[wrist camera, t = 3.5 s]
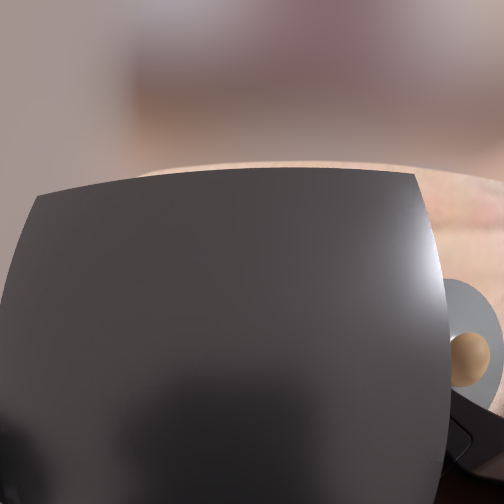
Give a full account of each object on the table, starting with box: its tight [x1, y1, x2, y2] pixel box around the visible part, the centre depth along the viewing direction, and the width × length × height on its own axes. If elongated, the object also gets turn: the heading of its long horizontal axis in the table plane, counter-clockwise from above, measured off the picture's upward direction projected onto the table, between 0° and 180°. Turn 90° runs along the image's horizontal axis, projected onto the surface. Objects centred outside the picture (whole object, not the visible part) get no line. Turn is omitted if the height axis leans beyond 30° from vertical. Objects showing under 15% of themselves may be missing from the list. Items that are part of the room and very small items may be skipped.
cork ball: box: [450, 332, 490, 387], centre depth 10 cm, size 3×3×3 cm
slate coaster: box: [443, 279, 504, 410], centre depth 12 cm, size 11×11×1 cm
